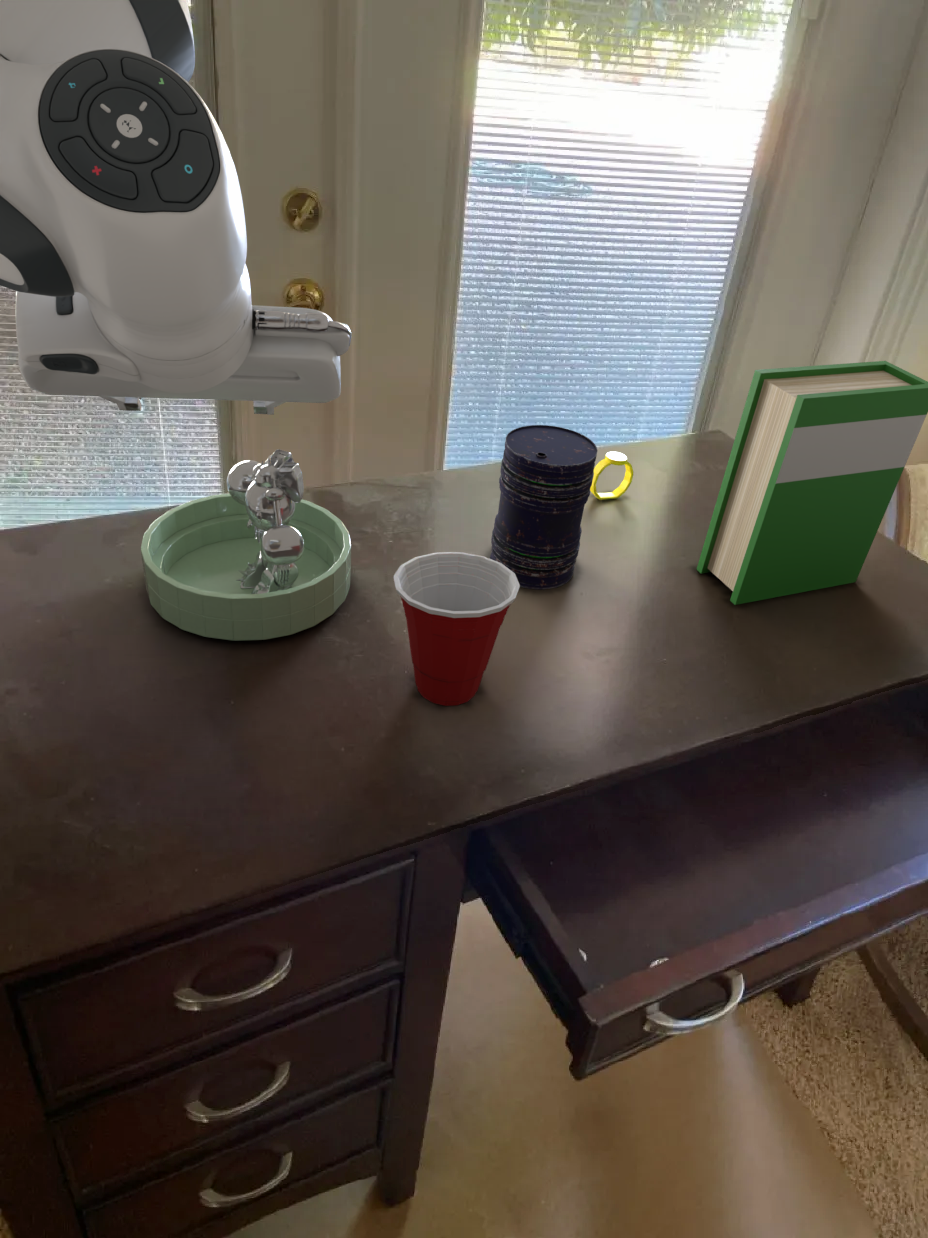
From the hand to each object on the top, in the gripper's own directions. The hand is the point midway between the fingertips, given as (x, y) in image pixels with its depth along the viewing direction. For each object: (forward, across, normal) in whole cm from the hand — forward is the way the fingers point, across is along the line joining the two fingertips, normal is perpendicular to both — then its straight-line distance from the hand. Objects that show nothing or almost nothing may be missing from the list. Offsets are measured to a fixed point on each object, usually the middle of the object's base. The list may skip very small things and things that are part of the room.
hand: (198, 402), depth 65 cm
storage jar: (+31, -34, +6) cm, 46 cm away
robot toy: (+28, -4, +8) cm, 30 cm away
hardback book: (+28, -63, +8) cm, 69 cm away
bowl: (+29, -3, +8) cm, 30 cm away
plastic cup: (+17, -20, +20) cm, 33 cm away
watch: (+42, -48, -5) cm, 64 cm away
